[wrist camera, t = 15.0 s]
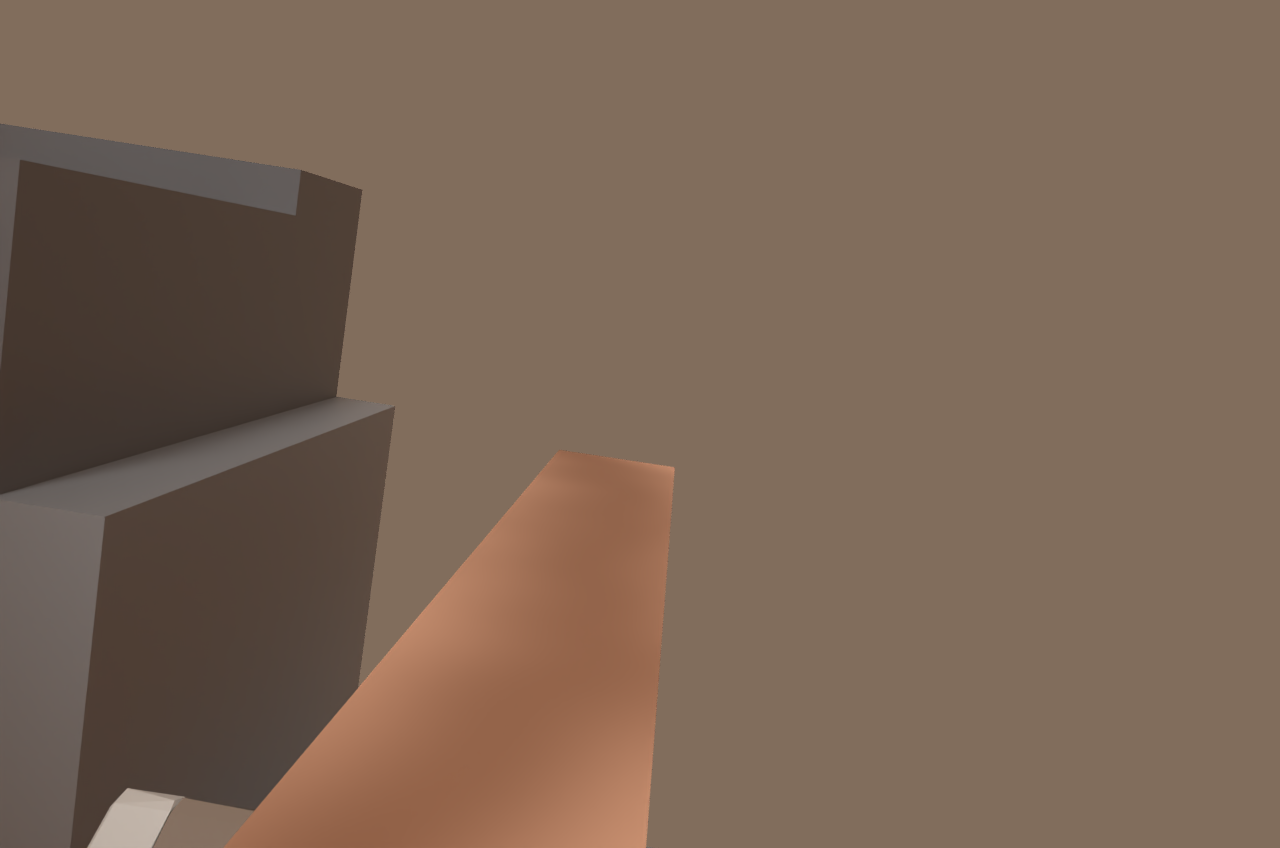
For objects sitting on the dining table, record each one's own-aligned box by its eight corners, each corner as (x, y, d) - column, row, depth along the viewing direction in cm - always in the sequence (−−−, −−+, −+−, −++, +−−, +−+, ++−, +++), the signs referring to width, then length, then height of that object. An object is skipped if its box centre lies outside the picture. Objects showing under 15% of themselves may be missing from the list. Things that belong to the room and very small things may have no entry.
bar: (65, 1441, 7) (113, 976, 7) (543, 563, 31) (559, 450, 31) (556, 1526, 7) (629, 1060, 7) (657, 580, 31) (674, 467, 31)
